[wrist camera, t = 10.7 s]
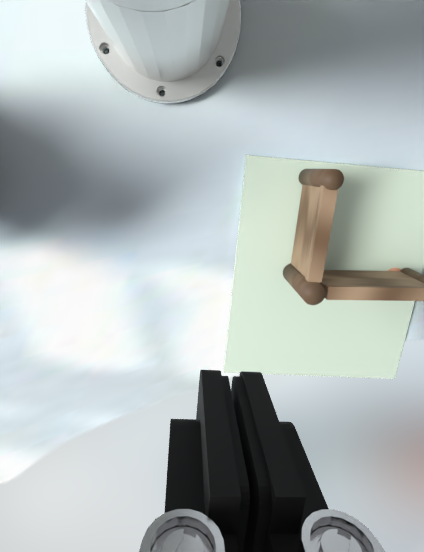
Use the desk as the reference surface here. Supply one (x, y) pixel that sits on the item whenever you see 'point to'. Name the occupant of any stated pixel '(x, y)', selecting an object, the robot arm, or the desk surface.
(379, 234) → the card
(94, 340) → the desk surface
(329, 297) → the panel
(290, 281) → the fence fixed section
